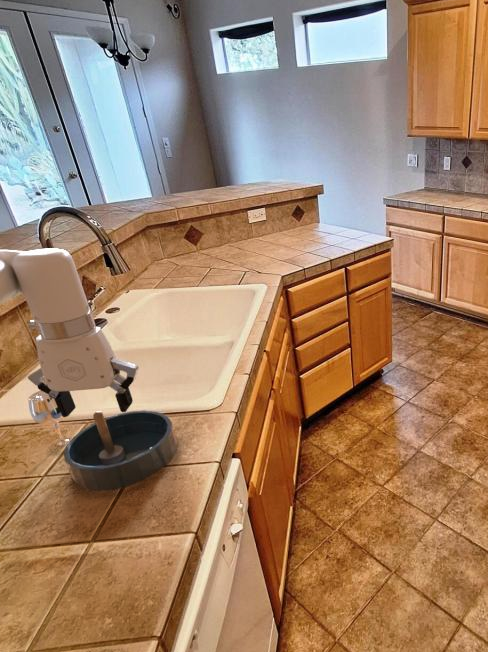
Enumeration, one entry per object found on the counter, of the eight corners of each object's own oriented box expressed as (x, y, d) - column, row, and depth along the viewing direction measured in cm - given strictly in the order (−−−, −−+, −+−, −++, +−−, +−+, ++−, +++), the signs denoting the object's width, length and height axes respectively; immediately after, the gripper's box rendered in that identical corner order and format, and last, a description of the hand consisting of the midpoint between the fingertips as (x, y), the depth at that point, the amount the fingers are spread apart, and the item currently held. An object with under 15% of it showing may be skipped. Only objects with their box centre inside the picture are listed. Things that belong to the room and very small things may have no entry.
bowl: (53, 498, 75) (42, 474, 73) (100, 435, 91) (92, 414, 88) (160, 487, 78) (153, 464, 75) (188, 428, 93) (182, 407, 91)
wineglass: (39, 450, 86) (17, 400, 81) (67, 433, 91) (48, 384, 86) (60, 456, 85) (38, 405, 79) (87, 438, 90) (69, 390, 84)
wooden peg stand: (97, 466, 81) (79, 419, 77) (106, 452, 85) (90, 406, 80) (120, 464, 82) (103, 417, 77) (128, 450, 86) (113, 405, 81)
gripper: (-7, 338, 67) (34, 427, 74) (113, 331, 69) (141, 418, 77) (23, 319, 73) (58, 403, 81) (131, 313, 76) (155, 395, 83)
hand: (98, 410), depth 79 cm, fingers open, 9 cm apart
